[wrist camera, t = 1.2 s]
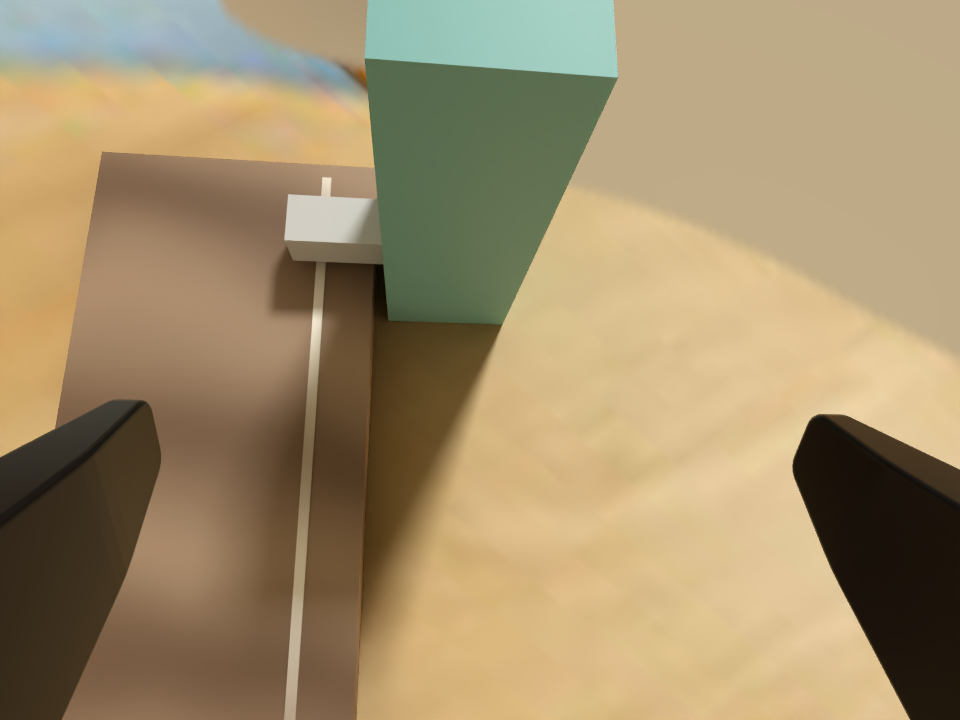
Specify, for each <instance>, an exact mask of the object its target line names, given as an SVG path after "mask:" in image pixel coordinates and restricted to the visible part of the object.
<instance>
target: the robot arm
mask: <svg viewBox="0 0 960 720" xmlns="http://www.w3.org/2000/svg"><path fill="white" fill-rule="evenodd" d="M160 465H161V450H160V445H159V440H158V436H157V431H156V426H155V422H154V417H153V412H152V409H151V407H150V405H149V403H147V402H146V401H144V400H132V399H114V400H110V401H108V402H106V403H104V404H102V405H100V406H98V407H96V408H94V409H92V410H90V411H89V412H87V413H85V414H83V415H81V416H79V417H77V418H75V419H73V420H71V421H69V422H67V423H65V424H63V425H62V426H60V427H58V428H56V429H54V430H52V431H50V432H48V433H46V434H44V435H42V436H40V437H38V438H36V439H35V440H33V441H31V442H29V443H27V444H25V445H23V446H21V447H19V448H17V449H15V450H13V451H11V452H9V453H7V454H6V455H4V456H2V457H0V720H62V718H63V716H64V714H65V712H66V710H67V707H68V705H69V703H70V701H71V698H72V696H73V694H74V692H75V689H76V687H77V685H78V683H79V681H80V678H81V676H82V674H83V672H84V669H85V667H86V665H87V663H88V660H89V658H90V656H91V654H92V651H93V649H94V647H95V645H96V643H97V640H98V638H99V636H100V634H101V631H102V629H103V627H104V625H105V622H106V620H107V618H108V616H109V614H110V611H111V609H112V607H113V605H114V602H115V600H116V598H117V596H118V593H119V591H120V589H121V586H122V584H123V582H124V579H125V577H126V574H127V572H128V569H129V566H130V563H131V560H132V557H133V554H134V551H135V547H136V544H137V541H138V538H139V535H140V531H141V528H142V525H143V522H144V519H145V515H146V512H147V509H148V506H149V502H150V499H151V496H152V493H153V490H154V486H155V483H156V480H157V477H158V473H159V470H160ZM792 466H793V475H794V478H795V481H796V483H797V486H798V488H799V491H800V493H801V496H802V498H803V501H804V503H805V506H806V508H807V511H808V513H809V516H810V518H811V521H812V523H813V526H814V528H815V531H816V533H817V536H818V538H819V541H820V543H821V546H822V548H823V551H824V553H825V555H826V558H827V560H828V562H829V565H830V567H831V569H832V571H833V573H834V575H835V577H836V579H837V581H838V584H839V586H840V587H841V589H842V591H843V593H844V595H845V597H846V599H847V601H848V603H849V605H850V607H851V608H852V610H853V612H854V614H855V616H856V618H857V620H858V622H859V624H860V626H861V627H862V629H863V631H864V633H865V635H866V637H867V639H868V641H869V643H870V645H871V646H872V648H873V650H874V652H875V654H876V656H877V658H878V660H879V662H880V664H881V665H882V667H883V669H884V671H885V673H886V675H887V677H888V679H889V681H890V683H891V685H892V686H893V688H894V690H895V692H896V694H897V696H898V698H899V700H900V702H901V704H902V705H903V707H904V709H905V711H906V713H907V715H908V717H909V719H910V720H960V469H957V468H955V467H953V466H951V465H949V464H947V463H945V462H943V461H941V460H939V459H936V458H934V457H932V456H930V455H928V454H926V453H924V452H922V451H920V450H918V449H916V448H913V447H911V446H909V445H907V444H905V443H903V442H901V441H899V440H897V439H895V438H892V437H890V436H888V435H886V434H884V433H882V432H880V431H878V430H876V429H874V428H872V427H869V426H867V425H865V424H863V423H861V422H859V421H857V420H855V419H853V418H851V417H848V416H846V415H840V414H818V415H816V416H814V417H812V418H811V420H810V421H809V423H808V425H807V427H806V429H805V432H804V434H803V437H802V439H801V442H800V444H799V446H798V449H797V451H796V454H795V456H794V459H793V465H792Z"/></svg>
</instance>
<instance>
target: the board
mask: <svg viewBox="0 0 960 720" xmlns="http://www.w3.org/2000/svg"><path fill="white" fill-rule="evenodd" d="M288 194H291V195H310V196H328V197H347V198H365V199H377V188H376V177H375V168H366V167H349V166H332V165H315V164H298V163H281V162H264V161H247V160H231V159H214V158H197V157H180V156H163V155H146V154H129V153H112V152H102V156H101V161H100V167H99V173H98V179H97V185H96V191H95V197H94V203H93V209H92V215H91V220H90V226H89V232H88V238H87V244H86V250H85V256H84V262H83V268H82V274H81V279H80V285H79V291H78V297H77V303H76V309H75V315H74V321H73V327H72V333H71V339H70V344H69V350H68V356H67V362H66V368H65V374H64V380H63V386H62V392H61V398H60V403H59V409H58V415H57V421H56V427H55V429H56V428H58V427H60V426H62V425H63V424H65V423H67V422H69V421H71V420H73V419H75V418H77V417H79V416H81V415H83V414H85V413H87V412H89V411H90V410H92V409H94V408H96V407H98V406H100V405H102V404H104V403H106V402H108V401H110V400H114V399H132V400H144V401H146V402H147V403H149V405H150V407H151V409H152V412H153V417H154V422H155V426H156V431H157V436H158V440H159V445H160V450H161V465H160V470H159V473H158V477H157V480H156V483H155V486H154V490H153V493H152V496H151V499H150V502H149V506H148V509H147V512H146V515H145V519H144V522H143V525H142V528H141V531H140V535H139V538H138V541H137V544H136V547H135V551H134V554H133V557H132V560H131V563H130V566H129V569H128V572H127V574H126V577H125V579H124V582H123V584H122V586H121V589H120V591H119V593H118V596H117V598H116V600H115V602H114V605H113V607H112V609H111V611H110V614H109V616H108V618H107V620H106V622H105V625H104V627H103V629H102V631H101V634H100V636H99V638H98V640H97V643H96V645H95V647H94V649H93V651H92V654H91V656H90V658H89V660H88V663H87V665H86V667H85V669H84V672H83V674H82V676H81V678H80V681H79V683H78V685H77V687H76V689H75V692H74V694H73V696H72V698H71V701H70V703H69V705H68V707H67V710H66V712H65V714H64V716H63V718H62V720H356V715H357V693H358V670H359V648H360V626H361V604H362V582H363V559H364V537H365V515H366V493H367V471H368V448H369V426H370V404H371V382H372V359H373V337H374V315H375V293H376V271H377V264H363V263H340V262H317V261H294V260H293V259H292V257H291V255H290V252H289V250H288V248H287V245H286V243H285V241H284V238H285V226H286V215H287V203H288Z"/></svg>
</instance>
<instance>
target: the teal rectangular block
mask: <svg viewBox="0 0 960 720" xmlns="http://www.w3.org/2000/svg"><path fill="white" fill-rule="evenodd" d="M616 54H617V53H616V37H615V21H614V5H613V0H368V10H367V28H366V46H365V66H366V77H367V88H368V99H369V110H370V121H371V132H372V143H373V154H374V165H375V177H376V188H377V199H365V198H347V197H328V196H310V195H291V194H288V203H287V215H286V226H285V238H284V241H285V243H286V245H287V248H288V250H289V252H290V255H291V257H292V259H293V260H294V261H317V262H340V263H363V264H383V265H384V276H385V288H386V299H387V310H388V321H412V322H441V323H469V324H498V325H502V324H503V322H504V320H505V318H506V316H507V314H508V312H509V309H510V307H511V305H512V303H513V301H514V299H515V297H516V294H517V292H518V290H519V288H520V286H521V284H522V282H523V280H524V277H525V275H526V273H527V271H528V269H529V267H530V265H531V262H532V260H533V258H534V256H535V254H536V252H537V250H538V247H539V245H540V243H541V241H542V239H543V237H544V235H545V233H546V230H547V228H548V226H549V224H550V222H551V220H552V218H553V215H554V213H555V211H556V209H557V207H558V205H559V203H560V200H561V198H562V196H563V194H564V192H565V190H566V188H567V186H568V183H569V181H570V179H571V177H572V175H573V173H574V171H575V168H576V166H577V164H578V162H579V160H580V157H581V156H582V153H583V151H584V149H585V147H586V145H587V143H588V141H589V139H590V136H591V134H592V132H593V130H594V128H595V126H596V123H597V121H598V119H599V117H600V115H601V113H602V111H603V109H604V106H605V104H606V102H607V100H608V98H609V96H610V94H611V91H612V89H613V87H614V85H615V83H616V81H617V79H618V70H617V55H616Z"/></svg>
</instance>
